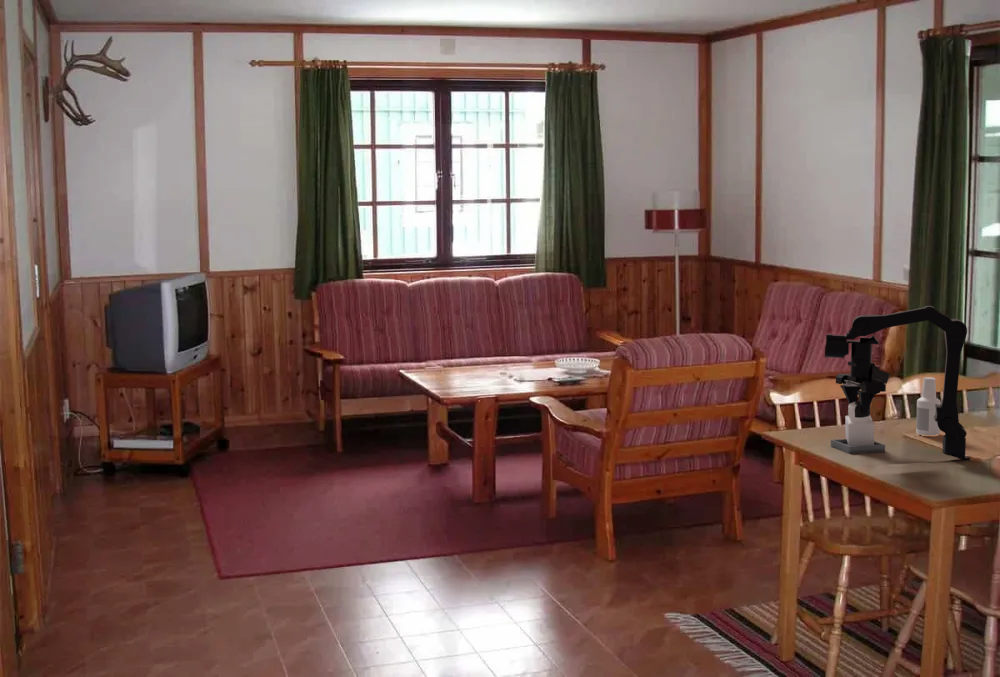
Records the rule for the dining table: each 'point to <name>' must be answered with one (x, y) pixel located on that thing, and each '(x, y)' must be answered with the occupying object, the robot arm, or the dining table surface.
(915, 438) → the dining table surface
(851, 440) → the medicine bottle
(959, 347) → the robot arm
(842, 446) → the tray
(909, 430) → the dining table surface
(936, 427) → the spray bottle
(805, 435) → the dining table surface
